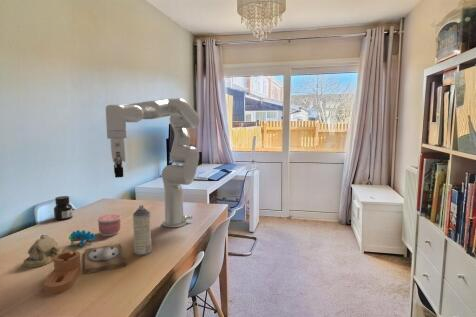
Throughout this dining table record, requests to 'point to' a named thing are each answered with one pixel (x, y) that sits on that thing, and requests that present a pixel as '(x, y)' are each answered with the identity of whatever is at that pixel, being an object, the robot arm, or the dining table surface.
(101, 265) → the flange board
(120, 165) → the robot arm
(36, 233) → the dining table surface
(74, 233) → the gear
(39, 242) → the ceramic model
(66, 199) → the ink bottle
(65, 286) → the bracket
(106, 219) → the container
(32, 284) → the dining table surface
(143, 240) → the aerosol can
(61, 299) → the dining table surface
